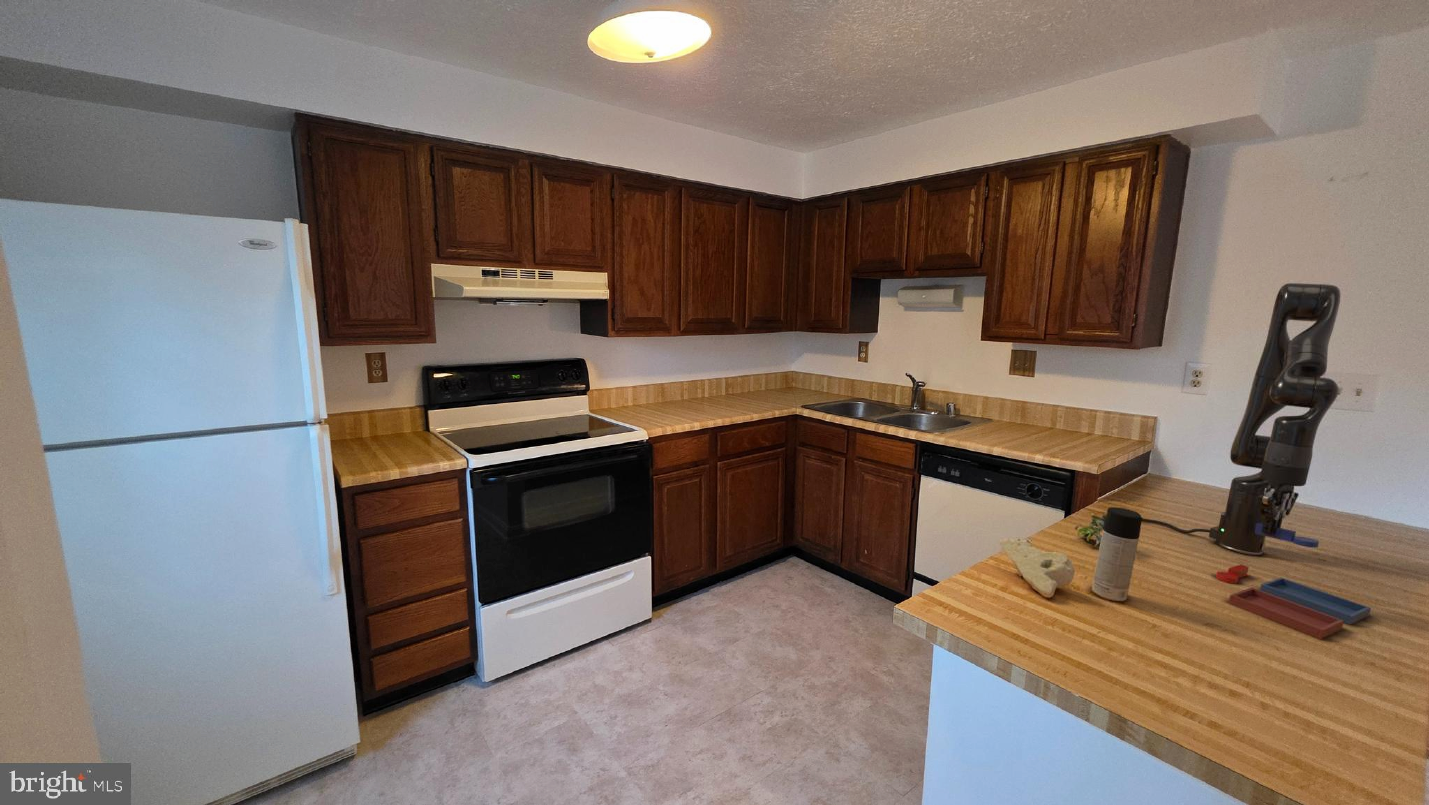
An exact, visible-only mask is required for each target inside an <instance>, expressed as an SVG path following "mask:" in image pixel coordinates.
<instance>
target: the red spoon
mask: <svg viewBox="0 0 1429 805" xmlns="http://www.w3.org/2000/svg"><path fill="white" fill-rule="evenodd" d="M1248 572H1249V566H1247V565H1244V564H1238V565H1235V566H1231V567H1228V568H1227V572H1225V571H1216V574H1215V578H1216V579H1217V580H1219V581H1222V582H1225V583H1228V584H1237V583H1238V581H1239V579H1241V578H1243V577H1244V578H1245V577H1247V576H1248Z"/></svg>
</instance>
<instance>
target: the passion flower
mask: <svg viewBox="0 0 1429 805" xmlns="http://www.w3.org/2000/svg"><path fill="white" fill-rule="evenodd" d="M1106 515H1107V513H1104V514H1102V515H1099V516H1097V515H1095V514H1094V513H1092V512H1091V514H1090V516H1091V522H1090V523H1089V524H1088V525H1086V526H1082V524H1081V523H1078V524H1077V525H1076V526H1075V527H1074V529H1075V530H1077V535H1078V536H1081V535H1082V538H1083V539H1086V541H1087V542H1089V541H1090V539H1091V538H1092V537H1094V536H1095V544H1094V545H1093V546H1092V549H1094V548H1096V547H1097V546H1098V545H1100V543H1101V538H1102V534H1101V533H1100V532H1101V531H1103V527H1104V523H1105V520H1106ZM1080 527H1081V528H1080ZM1078 528H1079V529H1078Z"/></svg>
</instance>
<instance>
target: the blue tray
mask: <svg viewBox="0 0 1429 805" xmlns="http://www.w3.org/2000/svg"><path fill="white" fill-rule="evenodd" d="M1259 590H1260V591H1263V592H1266V593H1268V594H1271V595H1274V596H1277V597H1279V598H1282V599H1285V600H1288V601H1290V602H1293V603H1296V604H1299V605H1302V606H1304V607H1307V608H1310V609H1313V610H1315V611H1318V612H1321V613H1324V614H1326V615H1329V616H1332V617H1335V618H1338V619H1340V620H1343V621H1344V622H1343V624H1348V625H1351V626H1352V625H1354V624H1355V623H1358V622H1359V621H1361V620H1363V619H1366V618H1368V617H1369V616H1370V613H1371V609H1372V608H1371V607H1370V606H1367V605H1364V604H1362V603H1358V602H1356V601H1352V600H1349V599H1346V598H1343V597H1340V596H1338V595H1335V594H1331V593H1328V592H1325V591H1322V590H1319V589H1317V588H1314V587H1311V586H1308V585H1305V584H1301V583H1299V582H1296V581H1292V580H1289V579H1286V578H1284V577H1277V578H1275V579H1272V580H1269V581H1266V582H1264V583H1261V584H1260V588H1259Z"/></svg>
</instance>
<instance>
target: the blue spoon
mask: <svg viewBox="0 0 1429 805" xmlns="http://www.w3.org/2000/svg"><path fill="white" fill-rule="evenodd" d="M1262 526H1263V524H1261V523H1258V524H1256V529H1255V534H1259V535H1263V536H1266V537H1269V538H1273V539H1275V540H1276V539H1277V540H1281V541H1285V542H1290V543H1293V544H1294V545H1297V546H1300V547H1307V548H1318V547H1319V543H1320V542H1319V541H1318V540H1317V539H1314V538H1311V537H1306V536H1299V535H1298V536H1296V533H1297V531H1296V530H1293V529H1288V528H1284V527H1281V528H1279V527H1276V531H1275V534H1274V535H1269V534H1265V533H1263V532H1262V531H1261V530H1262Z"/></svg>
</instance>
